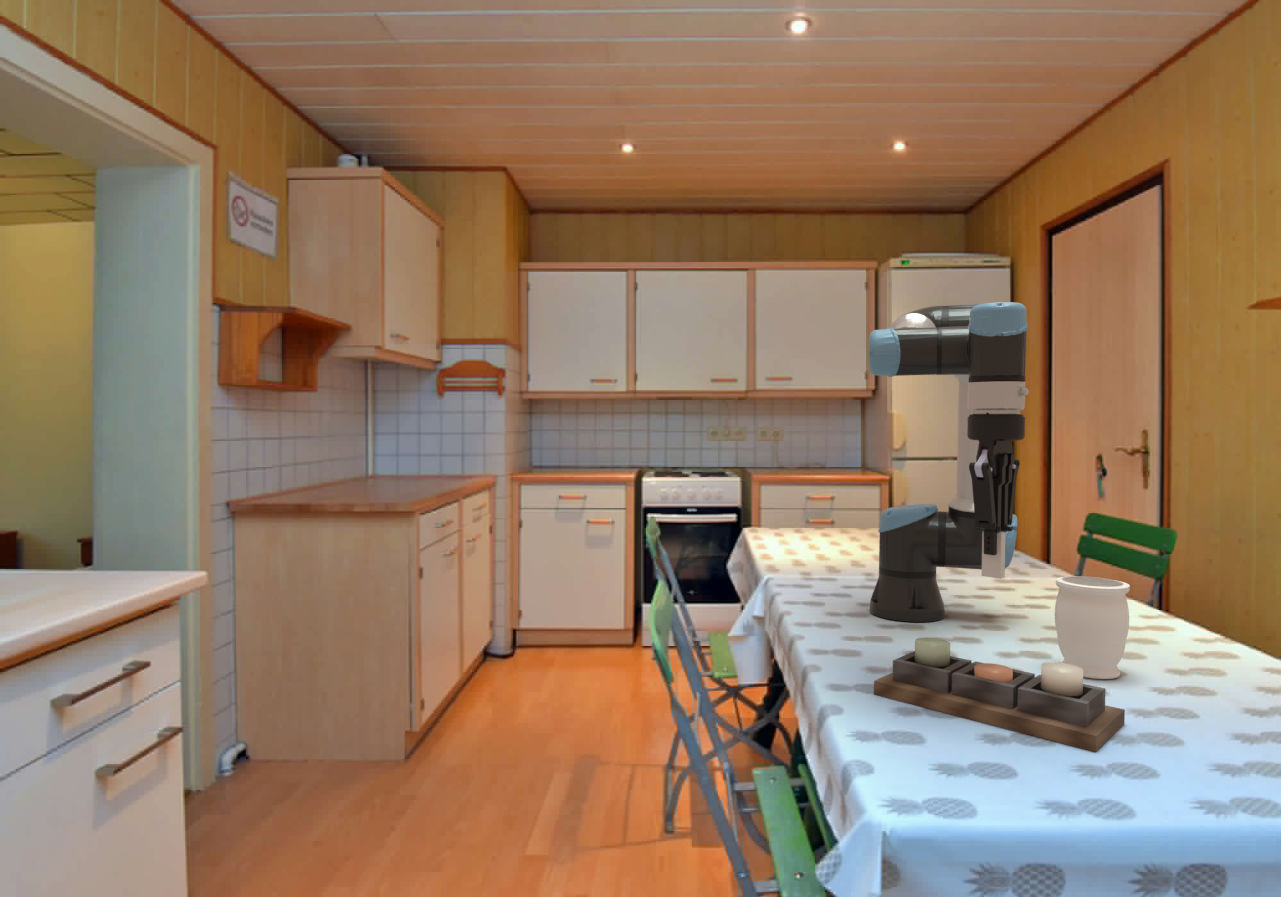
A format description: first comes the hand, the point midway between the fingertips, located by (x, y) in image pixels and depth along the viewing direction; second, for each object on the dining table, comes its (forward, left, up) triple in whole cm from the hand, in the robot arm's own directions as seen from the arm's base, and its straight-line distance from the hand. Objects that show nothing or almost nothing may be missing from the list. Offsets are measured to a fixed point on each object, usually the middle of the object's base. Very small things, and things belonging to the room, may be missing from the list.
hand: (993, 576), depth 116 cm
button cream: (+10, -2, -14) cm, 17 cm away
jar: (+6, +27, -19) cm, 33 cm away
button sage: (-8, -2, -14) cm, 16 cm away
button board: (+1, -2, -19) cm, 19 cm away
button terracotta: (+1, -2, -16) cm, 16 cm away
